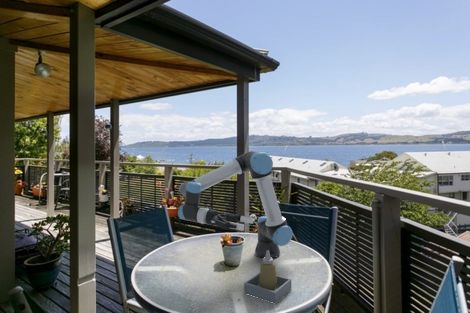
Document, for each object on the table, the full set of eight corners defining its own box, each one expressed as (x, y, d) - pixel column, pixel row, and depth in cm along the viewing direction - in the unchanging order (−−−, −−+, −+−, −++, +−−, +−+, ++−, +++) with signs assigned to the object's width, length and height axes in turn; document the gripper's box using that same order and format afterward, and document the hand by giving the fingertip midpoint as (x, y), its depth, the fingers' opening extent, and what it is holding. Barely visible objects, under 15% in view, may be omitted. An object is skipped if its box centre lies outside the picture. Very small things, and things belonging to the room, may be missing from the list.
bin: (261, 281, 152) (261, 271, 151) (291, 289, 143) (291, 279, 142) (244, 294, 139) (244, 283, 139) (275, 304, 130) (275, 292, 130)
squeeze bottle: (262, 295, 136) (262, 254, 135) (256, 287, 144) (256, 248, 143) (279, 293, 138) (279, 253, 137) (272, 285, 146) (272, 247, 145)
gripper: (217, 218, 165) (255, 225, 158) (195, 230, 142) (238, 239, 135) (218, 204, 165) (257, 211, 157) (196, 214, 142) (240, 222, 134)
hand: (248, 224), depth 146 cm, fingers open, 13 cm apart
